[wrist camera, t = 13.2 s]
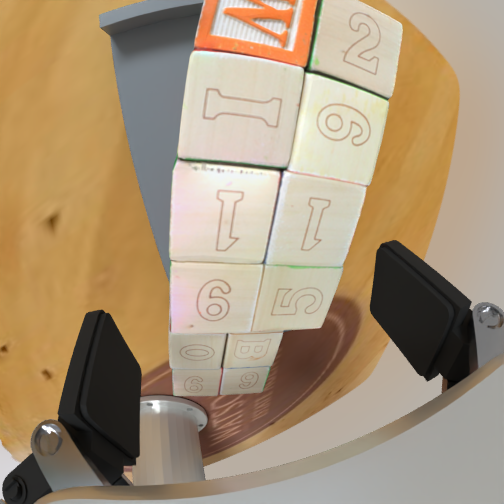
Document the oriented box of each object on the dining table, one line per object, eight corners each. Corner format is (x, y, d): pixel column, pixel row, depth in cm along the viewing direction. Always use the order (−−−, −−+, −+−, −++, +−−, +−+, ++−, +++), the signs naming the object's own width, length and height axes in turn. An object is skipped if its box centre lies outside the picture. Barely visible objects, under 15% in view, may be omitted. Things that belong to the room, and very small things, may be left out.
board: (295, 298, 29) (309, 325, 25) (188, 323, 27) (190, 353, 24) (264, 3, 15) (280, -14, 11) (114, 29, 14) (99, 14, 10)
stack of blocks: (238, 309, 26) (273, 430, 15) (169, 308, 24) (172, 436, 14) (289, 57, 16) (410, 22, 6) (198, 40, 15) (216, -47, 4)
